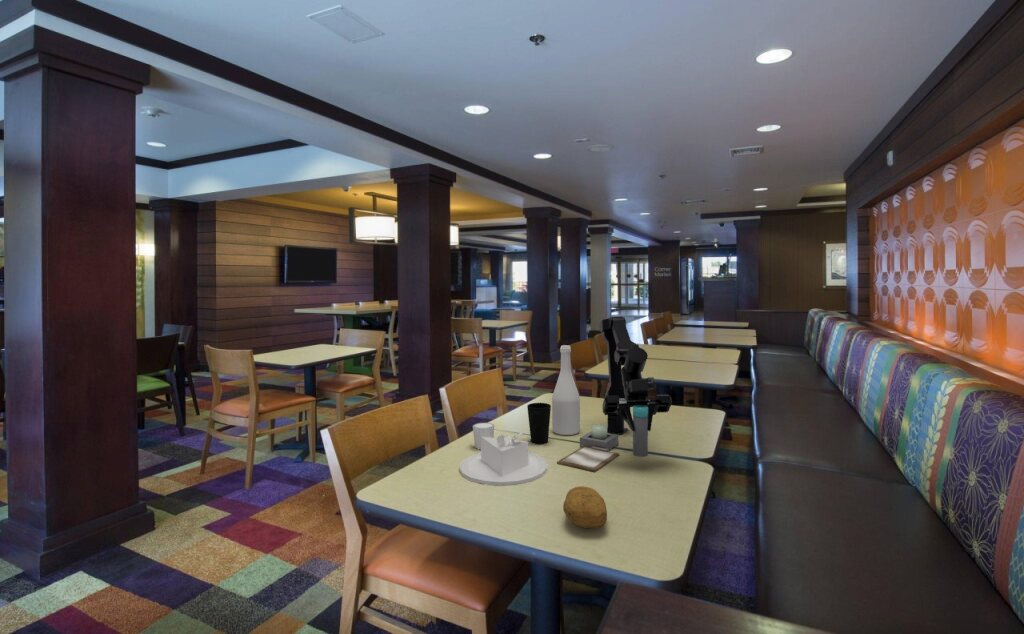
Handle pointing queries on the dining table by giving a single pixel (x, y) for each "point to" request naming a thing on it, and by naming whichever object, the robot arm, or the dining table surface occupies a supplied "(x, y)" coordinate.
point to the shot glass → (482, 432)
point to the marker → (640, 430)
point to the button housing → (599, 441)
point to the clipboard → (588, 458)
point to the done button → (599, 432)
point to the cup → (539, 422)
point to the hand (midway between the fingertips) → (641, 430)
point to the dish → (503, 462)
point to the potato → (585, 507)
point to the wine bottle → (565, 399)
